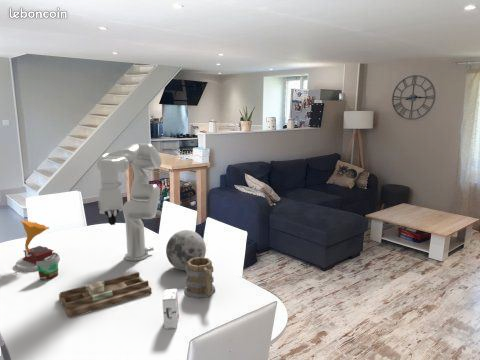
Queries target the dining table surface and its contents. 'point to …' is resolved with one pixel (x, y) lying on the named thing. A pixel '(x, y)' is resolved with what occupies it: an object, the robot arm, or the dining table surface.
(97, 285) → the block
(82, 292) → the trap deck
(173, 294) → the ink box
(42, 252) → the gramophone
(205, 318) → the dining table surface
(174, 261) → the moon model
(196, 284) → the tankard
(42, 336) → the dining table surface
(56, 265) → the food container
